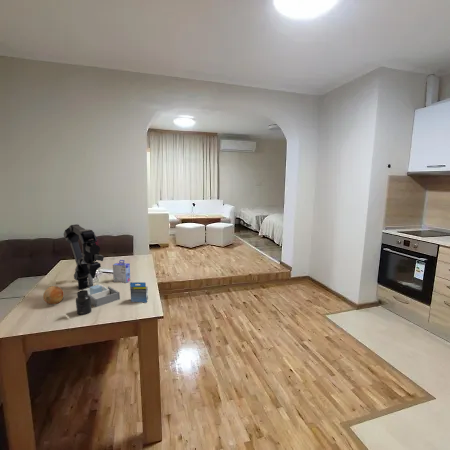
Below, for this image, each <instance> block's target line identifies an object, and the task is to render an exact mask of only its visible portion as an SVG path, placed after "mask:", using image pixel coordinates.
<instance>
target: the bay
mask: <svg viewBox="0 0 450 450" xmlns="http://www.w3.org/2000/svg"><path fill="white" fill-rule="evenodd" d="M107 288H108V289H109V290H110V295H108V296H104V297H101V298H98V299H95V298H94V297H92V296H91V295H90V294H88V295H89V296H90V298H91V306H93V307H94V308H98V307H100V306H103V305H107V304H110V303H113V302H116V301H120V300H121V296H120V291H118V290H116V289H114V288H113V287H111V286H109V285H108V286H107Z"/></svg>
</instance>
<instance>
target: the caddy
mask: <svg viewBox="0 0 450 450" xmlns="http://www.w3.org/2000/svg"><path fill="white" fill-rule="evenodd" d="M93 279H94V278H93ZM93 279H92V277H91V275H90V274H88V285H89V286H88V288H85V289H83V290H87V291H88V294H90V287H92V286H94V280H93ZM99 285H100V286H101V287H102V292H99V293H96V294H92V295H91V296H92V297H94V298H95V299H98V298H101V297H104V296H108V295H110V290H109V289H108V287H106V286H105V285H103V284H99Z"/></svg>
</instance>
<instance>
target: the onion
mask: <svg viewBox="0 0 450 450" xmlns="http://www.w3.org/2000/svg"><path fill="white" fill-rule="evenodd" d="M64 295H65V294H64V291H63V288H61V287H59V286H57V285H52V286H49V287H48V288H46V290H45V291H44V292H43V296H42V299H43V300H44V302H45V303H46V304H47V305H57V304H59V303H60V302H62V300H63V298H64Z"/></svg>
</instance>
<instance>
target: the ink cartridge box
mask: <svg viewBox="0 0 450 450" xmlns="http://www.w3.org/2000/svg"><path fill="white" fill-rule="evenodd" d="M130 264H131V263H127V262H126V261H125V259H119V261H118V262H116V263H114V264H112V275H113V276H112V277H113V278H112V279H113V283H116V282H121V283H123V284H127V283H130V282H131V265H130Z"/></svg>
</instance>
